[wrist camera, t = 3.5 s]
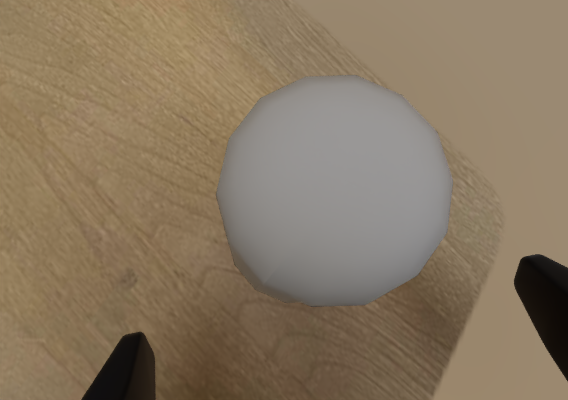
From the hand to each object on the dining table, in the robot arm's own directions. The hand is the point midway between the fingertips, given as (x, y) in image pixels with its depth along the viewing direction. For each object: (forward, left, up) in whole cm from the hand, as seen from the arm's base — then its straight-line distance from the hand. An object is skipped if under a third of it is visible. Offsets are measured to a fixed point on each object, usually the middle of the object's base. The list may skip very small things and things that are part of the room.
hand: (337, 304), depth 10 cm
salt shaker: (+1, -2, -10) cm, 10 cm away
